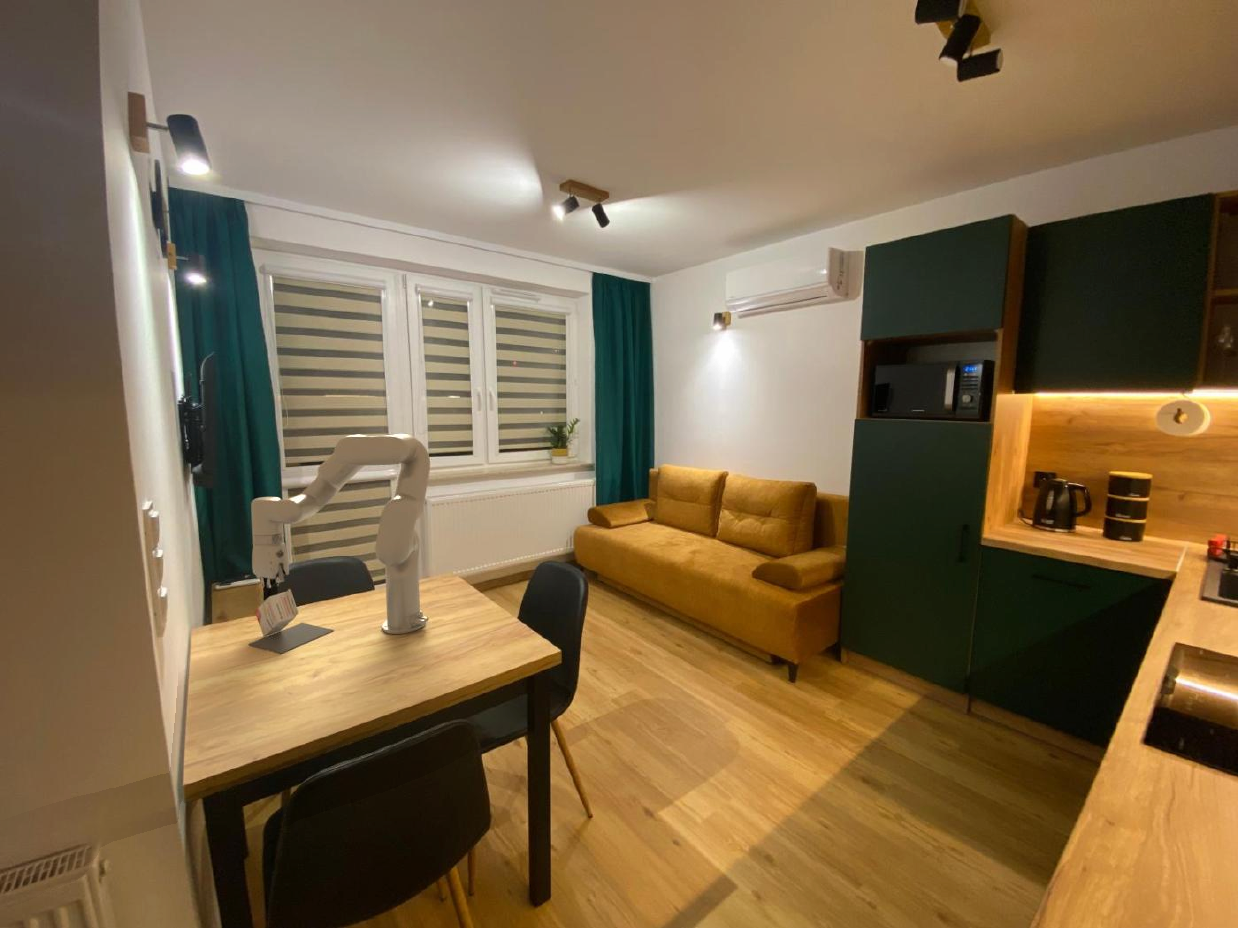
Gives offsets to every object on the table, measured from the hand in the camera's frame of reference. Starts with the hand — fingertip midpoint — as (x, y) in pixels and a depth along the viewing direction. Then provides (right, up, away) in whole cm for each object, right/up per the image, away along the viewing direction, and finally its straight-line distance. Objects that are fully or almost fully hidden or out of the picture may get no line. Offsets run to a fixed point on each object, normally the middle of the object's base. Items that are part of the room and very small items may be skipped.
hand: (270, 599), depth 148 cm
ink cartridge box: (-2, -7, +2) cm, 8 cm away
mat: (+7, -11, -1) cm, 13 cm away
